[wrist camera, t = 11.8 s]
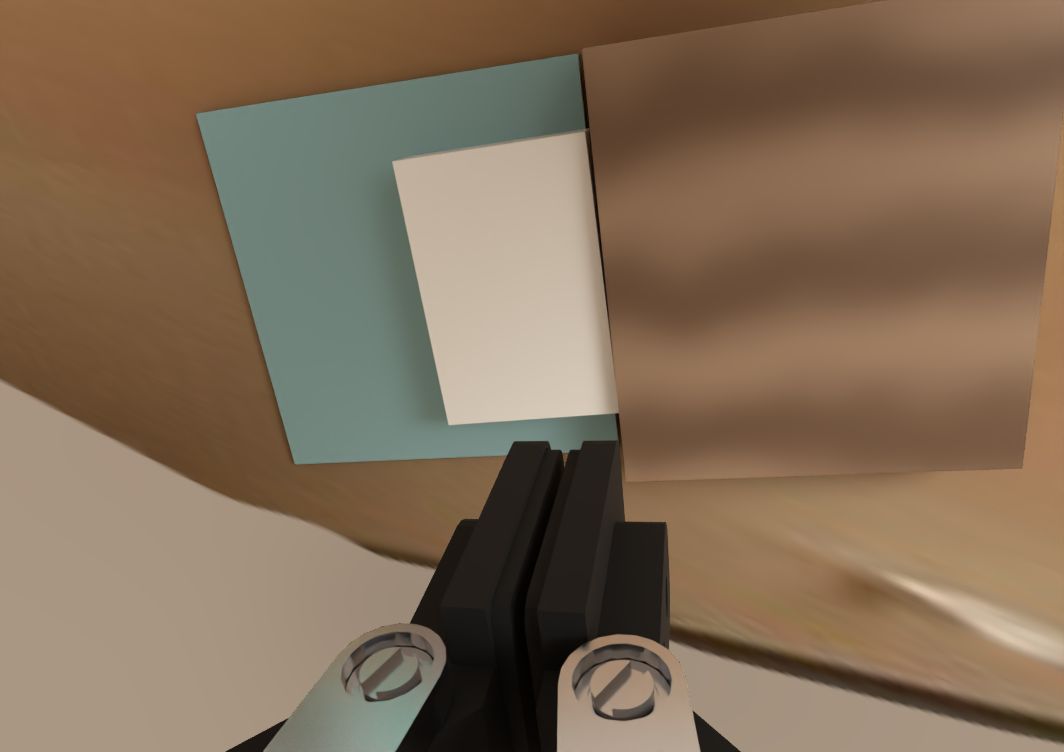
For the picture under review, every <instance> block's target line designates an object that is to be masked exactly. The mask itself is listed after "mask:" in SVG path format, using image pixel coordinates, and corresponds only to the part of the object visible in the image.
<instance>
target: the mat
mask: <svg viewBox="0 0 1064 752" xmlns="http://www.w3.org/2000/svg"><path fill="white" fill-rule="evenodd" d="M196 116H197V120H198V123H199V127H200V130H201V134H202V137H203V141H204V144H205V148H206V152H207V155H208V159H209V162H210V166H211V169H212V173H213V176H214V180H215V183H216V187H217V190H218V194H219V198H220V201H221V205H222V208H223V212H224V215H225V219H226V222H227V226H228V229H229V233H230V237H231V240H232V244H233V247H234V251H235V254H236V258H237V261H238V265H239V268H240V272H241V275H242V279H243V283H244V286H245V290H246V293H247V297H248V300H249V304H250V307H251V311H252V314H253V318H254V321H255V325H256V329H257V332H258V336H259V339H260V343H261V346H262V350H263V353H264V357H265V360H266V364H267V368H268V371H269V375H270V378H271V382H272V385H273V389H274V392H275V396H276V399H277V403H278V406H279V410H280V414H281V417H282V421H283V424H284V428H285V431H286V435H287V438H288V442H289V445H290V449H291V452H292V456H293V460H294V463H295V464H316V463H339V462H362V461H386V460H409V459H432V458H455V457H479V456H502V455H508V452H509V450H510V448H511V446H512V444H513V442H514V441H548V442H549V443H550V447H551V450H561V451H562V453H569V451H570V450H580V449H581V446H582V443H583V441H602V440H618V443H619V438H618V428H617V418H616V413H613V414H599V415H585V416H571V417H557V418H543V419H529V420H515V421H500V422H486V423H472V424H458V425H448V420H447V415H446V411H445V406H444V401H443V397H442V392H441V387H440V383H439V378H438V373H437V369H436V364H435V359H434V355H433V350H432V345H431V341H430V336H429V331H428V327H427V322H426V317H425V313H424V308H423V303H422V299H421V294H420V289H419V285H418V280H417V275H416V271H415V266H414V261H413V257H412V252H411V247H410V243H409V238H408V233H407V229H406V224H405V219H404V215H403V210H402V205H401V201H400V196H399V191H398V187H397V182H396V177H395V173H394V168H393V163H392V161H396V160H399V159H403V158H406V157H409V156H414V155H421V154H427V153H434V152H440V151H447V150H453V149H459V148H466V147H472V146H479V145H485V144H492V143H498V142H504V141H511V140H517V139H524V138H530V137H537V136H543V135H549V134H556V133H562V132H569V131H575V130H582V129H586V120H585V110H584V101H583V91H582V81H581V72H580V62H579V54H571V55H565V56H559V57H552V58H546V59H539V60H533V61H527V62H520V63H514V64H508V65H501V66H495V67H489V68H482V69H476V70H470V71H463V72H457V73H451V74H444V75H438V76H431V77H425V78H419V79H412V80H406V81H400V82H393V83H387V84H381V85H374V86H368V87H362V88H355V89H349V90H343V91H336V92H330V93H323V94H317V95H311V96H304V97H298V98H292V99H285V100H279V101H273V102H266V103H260V104H254V105H247V106H241V107H234V108H228V109H222V110H215V111H209V112H203V113H196Z"/></svg>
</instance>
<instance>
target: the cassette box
mask: <svg viewBox="0 0 1064 752" xmlns="http://www.w3.org/2000/svg"><path fill="white" fill-rule="evenodd" d="M392 163H393V168H394V173H395V177H396V182H397V187H398V191H399V196H400V201H401V205H402V210H403V215H404V219H405V224H406V229H407V233H408V238H409V243H410V247H411V252H412V257H413V261H414V266H415V271H416V275H417V280H418V285H419V289H420V294H421V299H422V303H423V308H424V313H425V317H426V322H427V327H428V331H429V336H430V341H431V345H432V350H433V355H434V359H435V364H436V369H437V373H438V378H439V383H440V387H441V392H442V397H443V401H444V406H445V411H446V415H447V420H448V425H458V424H472V423H486V422H500V421H515V420H529V419H543V418H557V417H571V416H585V415H599V414H613V413H619V408H618V399H617V389H616V379H615V369H614V360H613V350H612V340H611V330H610V320H609V311H608V301H607V291H606V281H605V272H604V262H603V252H602V242H601V232H600V223H599V213H598V203H597V193H596V184H595V174H594V164H593V154H592V144H591V135H590V128H588V129H582V130H575V131H569V132H562V133H556V134H549V135H543V136H537V137H530V138H524V139H517V140H511V141H504V142H498V143H492V144H485V145H479V146H472V147H466V148H459V149H453V150H447V151H440V152H434V153H427V154H421V155H414V156H409V157H406V158H403V159H399V160H396V161H392Z"/></svg>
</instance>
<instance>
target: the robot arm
mask: <svg viewBox="0 0 1064 752" xmlns="http://www.w3.org/2000/svg"><path fill="white" fill-rule="evenodd" d="M669 627H670V582H669V556H668V536H667V524H666V522H625V515H624V502H623V488H622V475H621V461H620V449H619V443H618V440H602V441H583V443H582V446H581V449H580V450H570V451H569V454H568V458H567V461H566V465H565V468H564V461H563V454H562V451H561V450H551V447H550V443H549V442H548V441H514V442H513V444H512V446H511V448H510V450H509V452H508V455H507V457H506V459H505V461H504V464H503V466H502V468H501V470H500V472H499V475H498V477H497V479H496V481H495V484H494V486H493V488H492V490H491V493H490V495H489V497H488V499H487V501H486V504H485V506H484V508H483V510H482V513H481V515H480V517H479V519H464V520H461V522H460V523H459V524H458V526H457V528H456V530H455V532H454V534H453V536H452V538H451V540H450V542H449V544H448V546H447V548H446V550H445V552H444V554H443V557H442V559H441V561H440V563H439V565H438V567H437V569H436V571H435V573H434V575H433V577H432V579H431V581H430V583H429V585H428V587H427V589H426V591H425V594H424V596H423V598H422V600H421V602H420V604H419V606H418V608H417V610H416V612H415V614H414V616H413V618H412V620H411V622H410V624H403V623H402V624H401V623H399V624H393V625H388V626H382V627H379V628H377V629H374V630H372V631H369V632H367V633H365V634H363V635H361V636H360V637H358V638H357V639H356V640H354V641H352V642H351V643H349V644H348V645H347V646H346V647H345V648H344V649H343V650H342V651H341V652H340V653H339V654H338V656H337V657H336V658H335V660H334V661H333V662H332V663H331V665H330V666H329V667H328V669H327V670H326V671H325V672H324V674H323V675H322V676H321V678H320V679H319V680H318V681H317V683H316V684H315V685H314V686H313V688H312V689H311V690H310V692H309V693H308V694H307V695H306V697H305V698H304V699H303V701H302V702H301V703H300V704H299V706H298V707H297V709H296V710H295V711H294V712H293V714H292V715H291V716H290V717H289V718H288V719H286V720H284V721H282V722H280V723H278V724H276V725H275V726H273V727H271V728H269V729H267V730H265V731H263V732H261V733H260V734H258V735H256V736H254V737H252V738H250V739H248V740H246V741H244V742H243V743H241V744H239V745H237V746H235V747H233V748H232V749H229V750H228V751H226V752H740V751H739V750H738V749H737V748H736V747H735V746H733V745H732V744H731V743H730V742H729V741H728V740H726V739H725V738H724V737H723V736H722V735H721V734H719V733H718V732H717V731H716V730H715V729H713V728H712V727H711V726H710V725H709V724H707V722H705V721H704V720H703V719H702V718H701V717H700V716H698V715H697V714H696V713H695V712H694V711H693V710H692V706H691V701H690V696H689V691H688V687H687V682H686V676H685V674H684V671H683V669H682V667H681V664H680V662H679V661H678V659H676V657H675V656H674V655H673V654H672V653H671V652H670V651H669Z"/></svg>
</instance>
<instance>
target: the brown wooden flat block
mask: <svg viewBox="0 0 1064 752" xmlns="http://www.w3.org/2000/svg"><path fill="white" fill-rule="evenodd" d="M582 56H583V66H584V76H585V86H586V95H587V105H588V115H589V125H590V135H591V144H592V154H593V164H594V174H595V184H596V193H597V203H598V213H599V223H600V232H601V242H602V252H603V262H604V272H605V281H606V291H607V301H608V311H609V320H610V330H611V340H612V350H613V360H614V369H615V379H616V389H617V399H618V408H619V418H620V428H621V438H622V448H623V457H624V467H625V477H626V482H640V481H669V480H699V479H728V478H758V477H787V476H817V475H846V474H875V473H905V472H934V471H964V470H993V469H1022V467H1023V458H1024V450H1025V441H1026V432H1027V424H1028V415H1029V407H1030V398H1031V389H1032V381H1033V372H1034V363H1035V355H1036V346H1037V337H1038V329H1039V320H1040V312H1041V303H1042V294H1043V286H1044V277H1045V268H1046V260H1047V251H1048V243H1049V234H1050V225H1051V217H1052V208H1053V199H1054V191H1055V182H1056V174H1057V165H1058V156H1059V148H1060V139H1061V130H1062V122H1063V113H1064V0H883V1H877V2H871V3H864V4H858V5H852V6H845V7H839V8H833V9H827V10H820V11H814V12H808V13H801V14H795V15H789V16H782V17H776V18H770V19H764V20H757V21H751V22H745V23H738V24H732V25H726V26H719V27H713V28H707V29H701V30H694V31H688V32H682V33H675V34H669V35H663V36H656V37H650V38H644V39H637V40H631V41H625V42H619V43H612V44H606V45H600V46H593V47H587V48H582Z"/></svg>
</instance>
